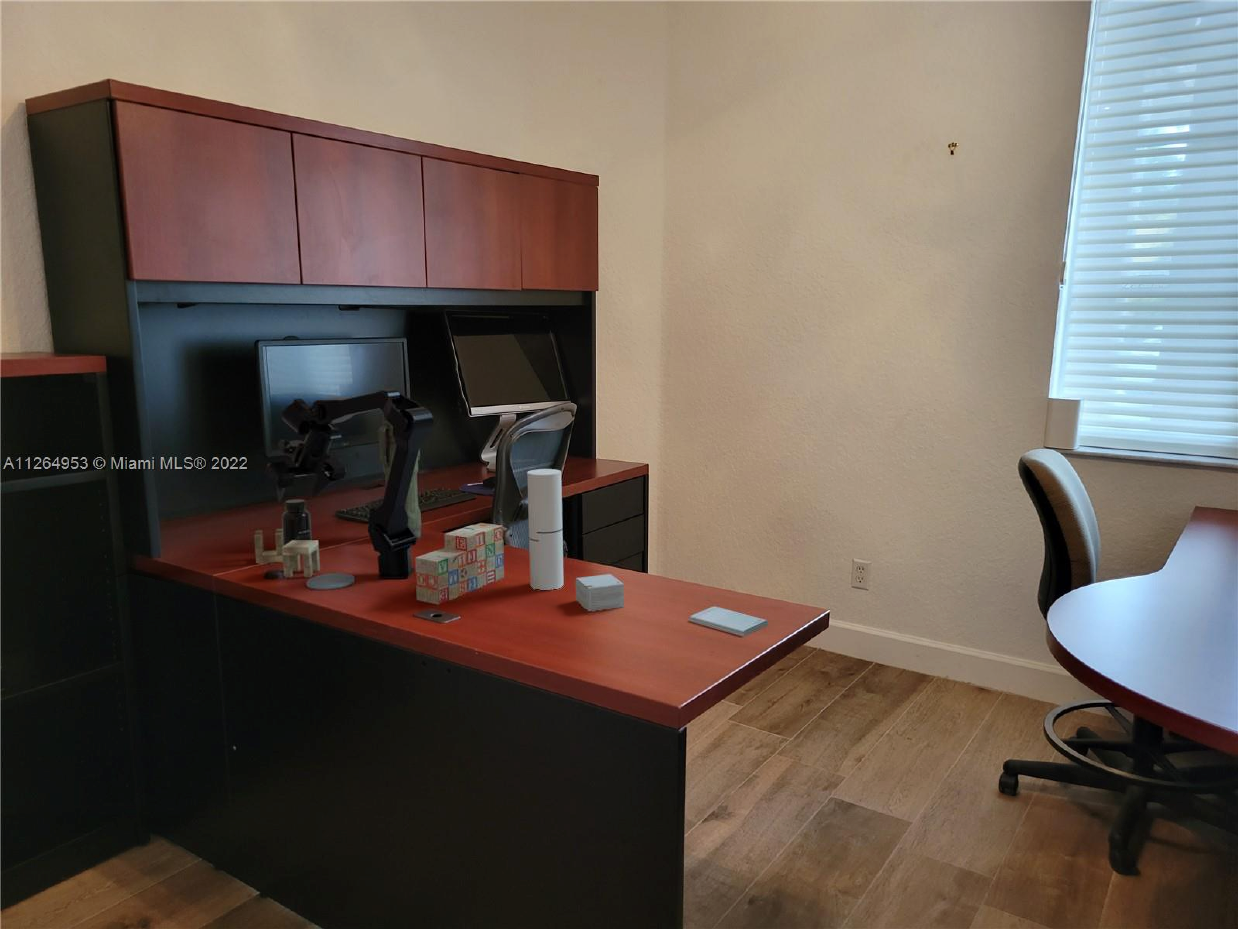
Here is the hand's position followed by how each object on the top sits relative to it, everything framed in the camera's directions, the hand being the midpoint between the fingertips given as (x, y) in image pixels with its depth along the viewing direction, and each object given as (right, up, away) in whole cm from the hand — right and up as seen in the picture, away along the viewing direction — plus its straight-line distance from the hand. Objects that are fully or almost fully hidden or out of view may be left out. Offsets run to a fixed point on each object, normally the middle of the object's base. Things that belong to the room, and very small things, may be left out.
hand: (296, 499), depth 213 cm
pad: (+14, -18, -18) cm, 29 cm away
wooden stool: (+5, -17, -10) cm, 20 cm away
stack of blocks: (+44, -19, -22) cm, 53 cm away
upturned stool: (-7, -15, +1) cm, 16 cm away
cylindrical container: (+62, -18, -21) cm, 68 cm away
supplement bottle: (-4, -13, +13) cm, 19 cm away
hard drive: (+98, -22, -45) cm, 110 cm away
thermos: (+21, -11, +21) cm, 32 cm away
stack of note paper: (+73, -20, -33) cm, 83 cm away
